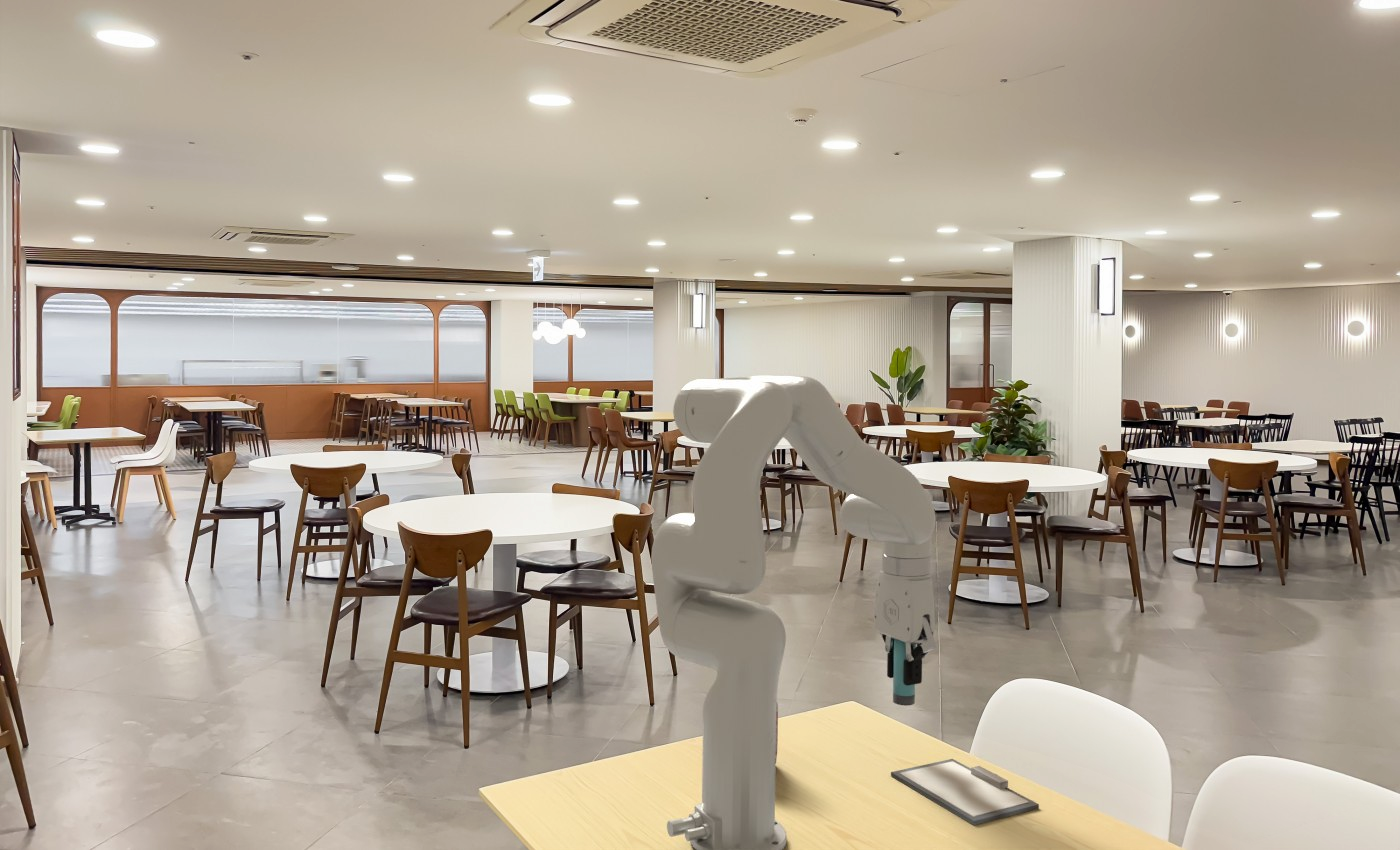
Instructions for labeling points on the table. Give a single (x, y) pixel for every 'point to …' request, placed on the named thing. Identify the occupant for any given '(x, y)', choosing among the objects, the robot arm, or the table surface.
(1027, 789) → the table surface
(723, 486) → the robot arm
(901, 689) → the marker
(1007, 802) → the clipboard
